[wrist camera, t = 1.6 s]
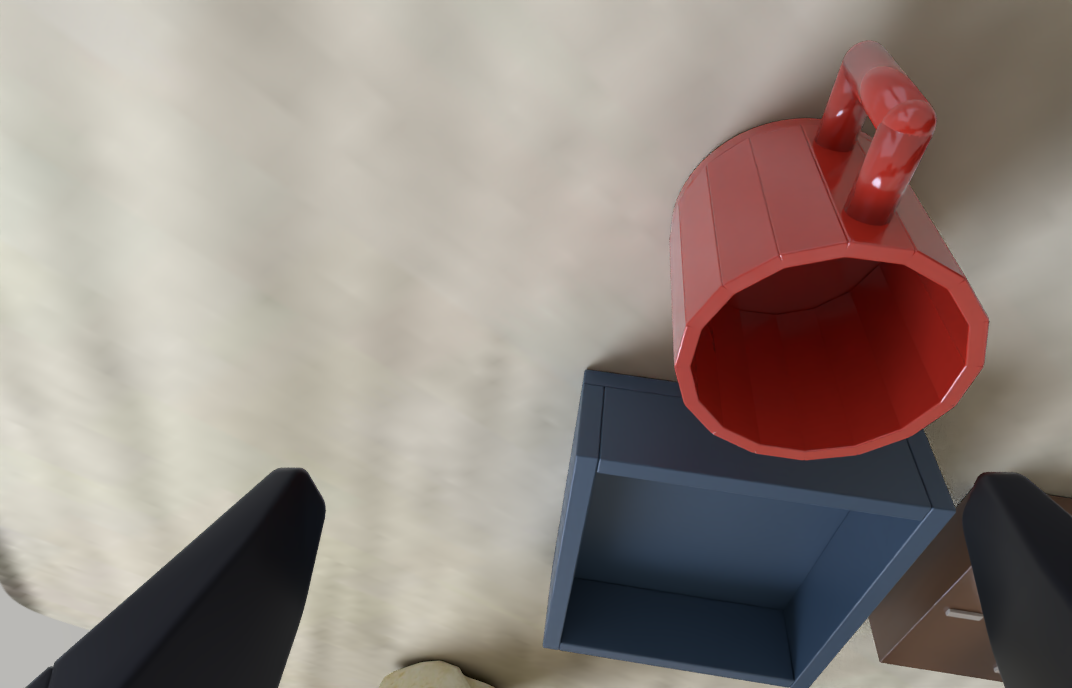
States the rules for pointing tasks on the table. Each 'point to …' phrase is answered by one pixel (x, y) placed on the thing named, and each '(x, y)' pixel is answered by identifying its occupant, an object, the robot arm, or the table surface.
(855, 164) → the mug
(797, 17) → the table surface
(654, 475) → the dark blue tray
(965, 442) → the table surface
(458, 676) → the food model
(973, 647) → the panel
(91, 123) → the table surface
